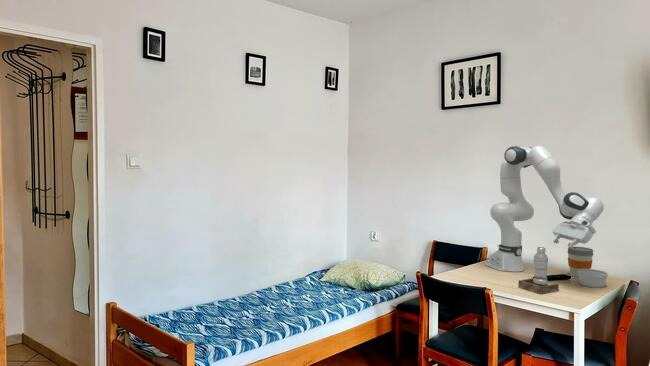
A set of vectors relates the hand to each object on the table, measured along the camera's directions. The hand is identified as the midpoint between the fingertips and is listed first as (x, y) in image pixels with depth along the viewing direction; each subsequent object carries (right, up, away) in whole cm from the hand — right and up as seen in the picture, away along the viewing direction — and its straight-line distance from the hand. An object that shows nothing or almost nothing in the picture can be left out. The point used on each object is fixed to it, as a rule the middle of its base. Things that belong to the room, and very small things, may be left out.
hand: (562, 244), depth 232 cm
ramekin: (+19, -22, +7) cm, 30 cm away
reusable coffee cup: (+22, -21, +25) cm, 39 cm away
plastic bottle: (-13, -21, -4) cm, 25 cm away
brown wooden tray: (-13, -22, -2) cm, 25 cm away
